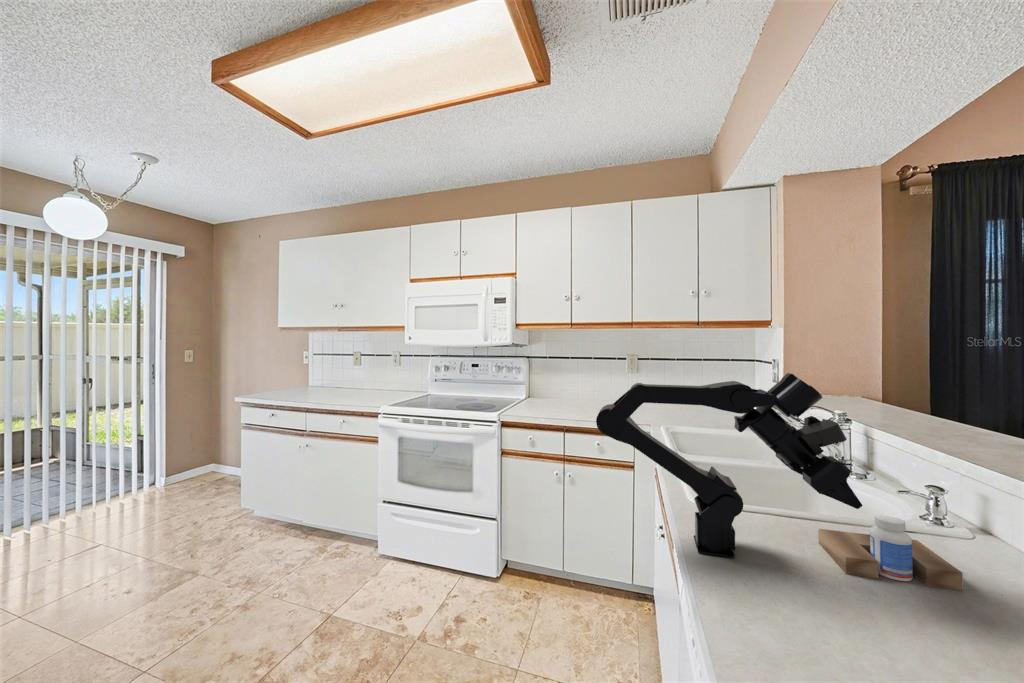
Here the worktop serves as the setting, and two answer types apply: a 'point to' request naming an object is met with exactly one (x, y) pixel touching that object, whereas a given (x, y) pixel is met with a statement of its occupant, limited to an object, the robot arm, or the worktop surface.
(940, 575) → the notched board
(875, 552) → the pill bottle
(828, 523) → the worktop surface
